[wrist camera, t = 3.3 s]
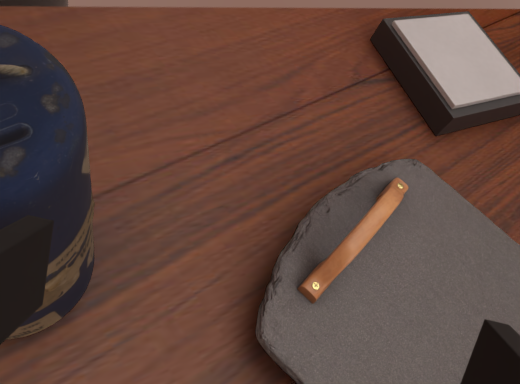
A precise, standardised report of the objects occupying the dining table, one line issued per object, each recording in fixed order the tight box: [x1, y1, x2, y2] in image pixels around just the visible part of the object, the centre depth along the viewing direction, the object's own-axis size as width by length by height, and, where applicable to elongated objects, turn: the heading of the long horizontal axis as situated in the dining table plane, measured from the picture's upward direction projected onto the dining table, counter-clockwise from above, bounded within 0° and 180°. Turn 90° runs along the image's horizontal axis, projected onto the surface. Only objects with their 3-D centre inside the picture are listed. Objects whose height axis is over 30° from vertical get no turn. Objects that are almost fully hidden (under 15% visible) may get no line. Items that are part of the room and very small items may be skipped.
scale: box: [370, 11, 520, 136], centre depth 52 cm, size 14×14×4 cm
